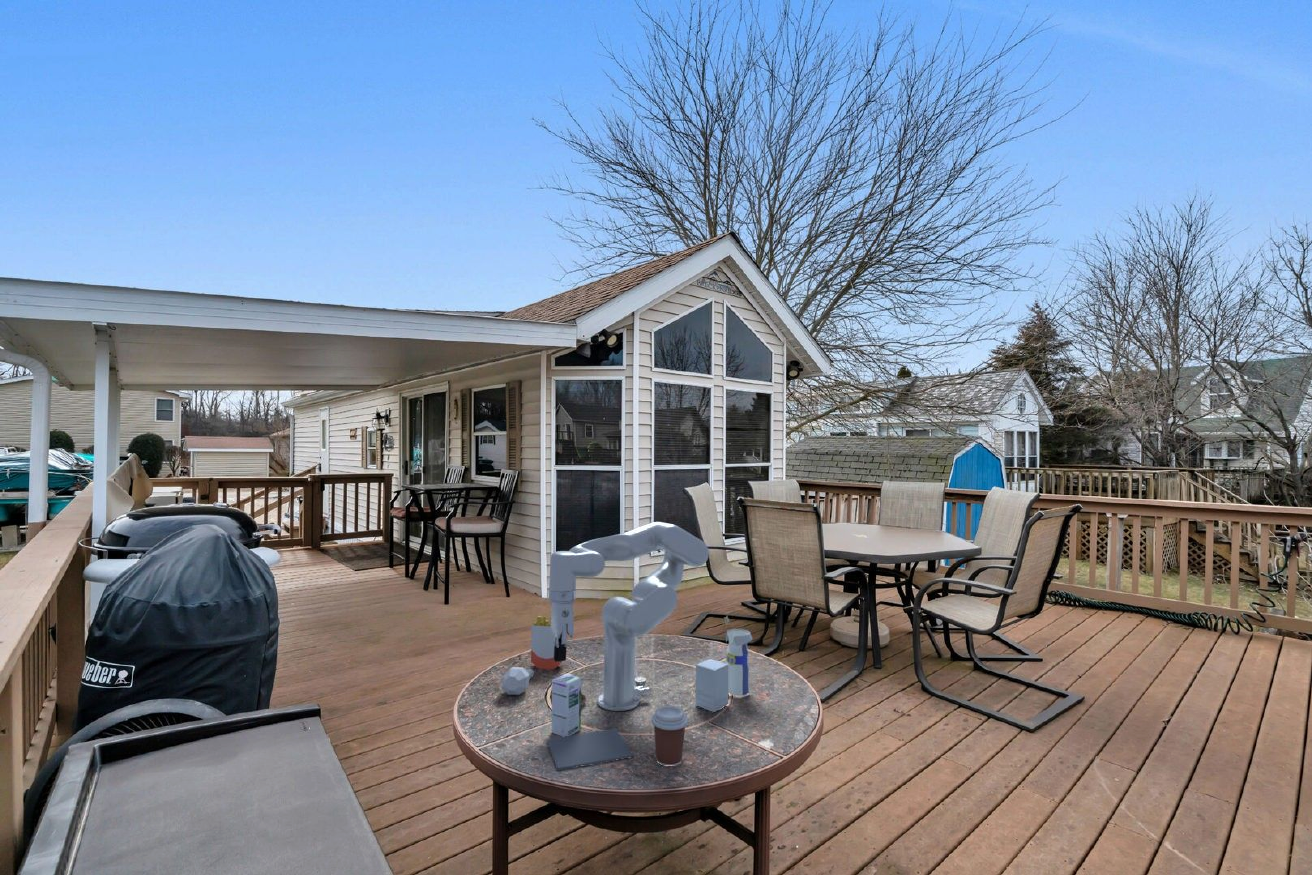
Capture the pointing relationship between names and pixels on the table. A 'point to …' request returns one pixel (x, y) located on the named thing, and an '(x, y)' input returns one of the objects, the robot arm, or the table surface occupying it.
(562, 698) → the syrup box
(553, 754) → the rubber mat
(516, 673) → the chicken leg
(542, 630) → the french fries container
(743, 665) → the spray bottle
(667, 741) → the coffee cup
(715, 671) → the supplement box
